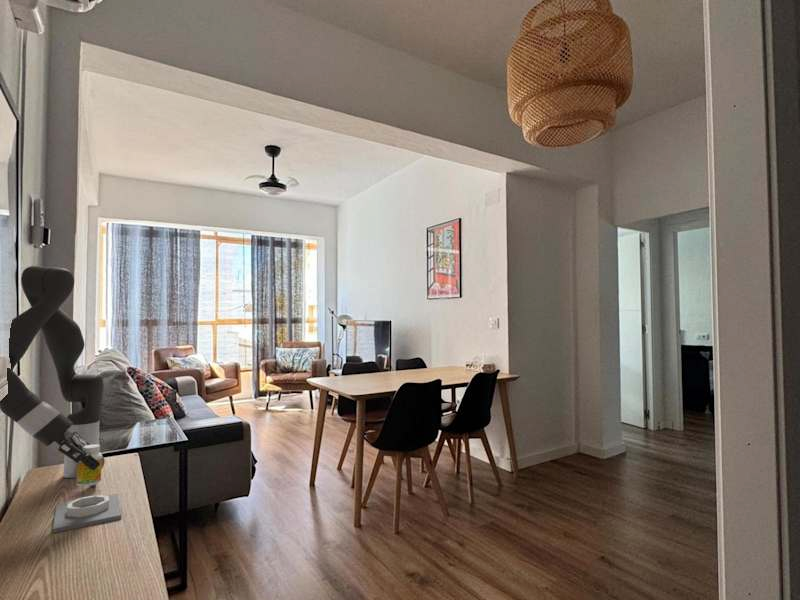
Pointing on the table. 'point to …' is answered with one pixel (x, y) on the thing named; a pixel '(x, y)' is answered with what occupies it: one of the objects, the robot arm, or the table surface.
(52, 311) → the robot arm
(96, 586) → the table surface
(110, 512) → the collar plate
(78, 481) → the supplement bottle
